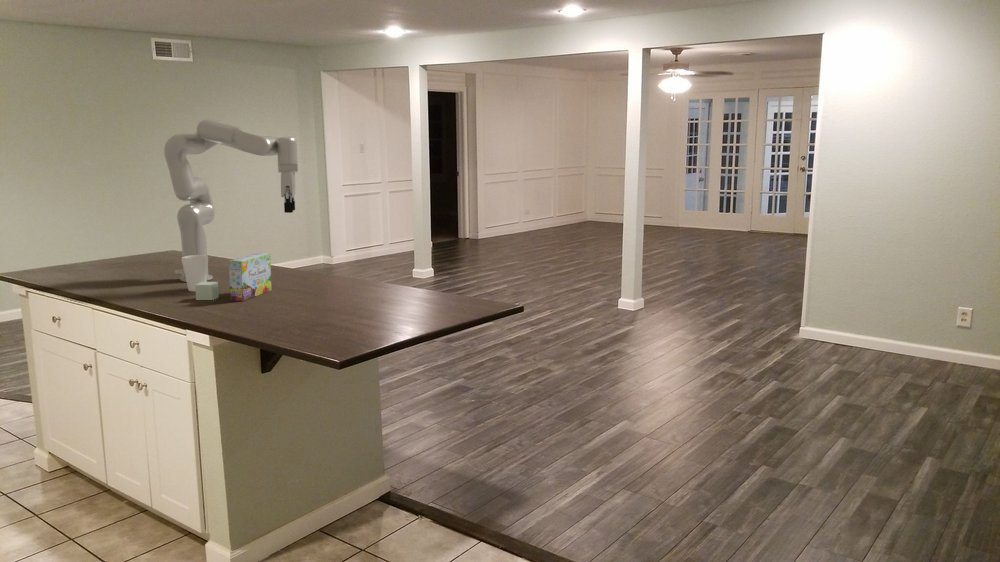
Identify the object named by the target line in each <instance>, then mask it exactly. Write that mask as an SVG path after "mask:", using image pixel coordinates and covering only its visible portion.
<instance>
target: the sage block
mask: <svg viewBox="0 0 1000 562" xmlns="http://www.w3.org/2000/svg"><path fill="white" fill-rule="evenodd" d="M194 292H195V301H196V300H213V301H215V300H217V299H219V298H220V295H219V294H220V293H219V292H220V291H219V282H218V281H206V282H200V283H198V284H196V285H195V291H194ZM218 297H219V298H218ZM216 298H217V299H216ZM214 299H215V300H214Z"/></svg>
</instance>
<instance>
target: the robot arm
mask: <svg viewBox="0 0 1000 562" xmlns="http://www.w3.org/2000/svg"><path fill="white" fill-rule="evenodd" d="M217 145H221V146H225V147H230V148H233V149H236V150H238V151H241V152H244V153H247V154H251V155H255V156H260V157H267V156H268V157H271V156H277V168H278V169H277V171H278V173H280V197H281V198H284V200H283V201H284V202H283V206H284V207H283V208H284V213H290V214H291V213H294V211H295V210H296V202H295V201H296V200H295V196H296V173H299V171H298V170H299V166H298V143H297V140H296V138H295V137H293V136H292V137H291V136H290V137H289V136H285V137H284V136H283V137H276V136H267V135H266V136H261V135H257V134H254V133H253V134H252V133H249V132H245V131H243V130H242V129H241V128H240V127H239V126H236V125H231V124H229V123H228V124H227V123H225V122H224V121H222V120H218V119H211V118H210V119H209V118H208V119H203V120H200V121H199V123H197V126H196V132H194V133H188V132H183V133H176V134H174V135H172V136H171V137H169V138H168V139H167V141H166V143H165V145H164V148H163V154H164V158H165V163H166V164H167V168H168V171H169V176H170V180H171V185H172V187H173V188H172V189H173V192H174V194H175V196H176V198H177V199H178V200H179V201H183V202H188V201H189V202H190V203H187V204H185V205H182V206H181V207H180V208H179V210H178V211H177V215H176V218H177V219H176V220H177V223H178V224H177V225H178V227H179V231H180V241H181V253H182V254H181V255H182V257H184V256H191V255H206V256H208V249H207V248H208V247H207V238H206V237H207V236H206V231H205V229H204V226H205V225H208V224H210V223H212V222H213V220H214V218H215V207H214V204H213V199H212V196H211V192H210V188H209V185H208V184H207V182H206V181H205V180H204V179H203V178H201V177H198V176H194V174H193V170H192V166H191V164H190V162H189V160H188V159H187V156H188V155H200V154H203V153H205V152H208V150H210V149H212V148H213V147H215V146H217ZM174 275H176V276H179V275H180V276H181V277H180V278H179V279H180V281H181V282H184V283H187V282H186V277H185V273H184V268H183V267H182V269H175V270H174ZM213 278H214V277H213V275H212V274H209V266H208V267H207V281H210V280H212V279H213Z"/></svg>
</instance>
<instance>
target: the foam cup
mask: <svg viewBox="0 0 1000 562" xmlns="http://www.w3.org/2000/svg"><path fill="white" fill-rule="evenodd" d="M208 263H209V256H208V255H207V256H206V255H191V256H184V257H183V256H182V257H181V264H182V266H183V267H182V269H183V268H184V273H185V277H186V282H185V283H186V286H187V289H188V291H189V292H196V291H195V285H196V284H198V283H200V282H208V280H207V267H208V268H209V264H208Z"/></svg>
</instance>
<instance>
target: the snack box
mask: <svg viewBox="0 0 1000 562" xmlns="http://www.w3.org/2000/svg"><path fill="white" fill-rule="evenodd" d="M271 266H272V264H271V253H269V252H256V253H253V254H249V255H245V256H241V257H237V258H234V259H230V260H228V268H229V269H228V270H229V271H228V272H229V273H228V274H229V293H230V295H229V296H230V301H233V302H244V301H247V300H250V299H253V298H255V296H256V297H258V296H261V295H263V293H264V294H266V293H268V291H269V292H271V291H272V267H271ZM260 294H261V295H260Z"/></svg>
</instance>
